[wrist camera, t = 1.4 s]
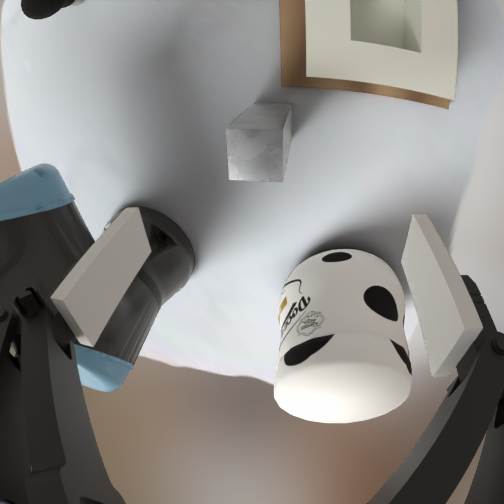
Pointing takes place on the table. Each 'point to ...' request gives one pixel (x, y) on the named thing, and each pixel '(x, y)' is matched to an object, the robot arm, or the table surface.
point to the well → (385, 43)
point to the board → (296, 77)
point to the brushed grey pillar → (260, 142)
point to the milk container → (342, 339)
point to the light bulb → (45, 7)
